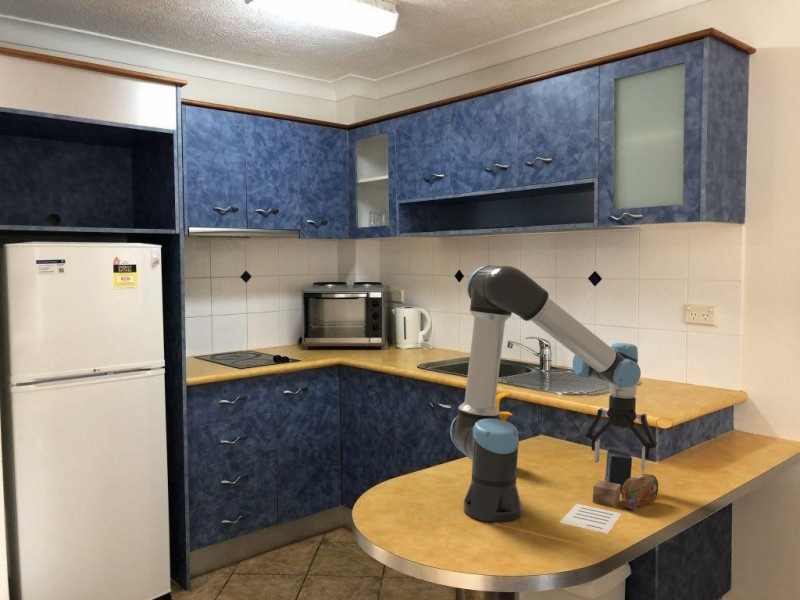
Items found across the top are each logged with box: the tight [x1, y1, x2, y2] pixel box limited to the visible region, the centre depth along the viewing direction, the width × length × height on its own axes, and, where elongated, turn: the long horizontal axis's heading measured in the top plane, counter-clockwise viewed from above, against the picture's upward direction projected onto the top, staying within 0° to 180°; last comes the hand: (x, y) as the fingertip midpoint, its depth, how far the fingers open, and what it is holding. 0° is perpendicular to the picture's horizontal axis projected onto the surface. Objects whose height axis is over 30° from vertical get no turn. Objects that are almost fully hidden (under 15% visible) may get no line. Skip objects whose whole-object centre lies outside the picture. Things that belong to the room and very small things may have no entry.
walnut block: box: [592, 479, 621, 508], centre depth 184 cm, size 6×6×5 cm
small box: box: [604, 446, 633, 492], centre depth 198 cm, size 11×6×10 cm, turn 168°
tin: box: [621, 473, 659, 511], centre depth 182 cm, size 15×3×8 cm, turn 129°
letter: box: [559, 503, 622, 535], centre depth 172 cm, size 12×16×1 cm
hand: (619, 465), depth 198 cm, fingers open, 13 cm apart
